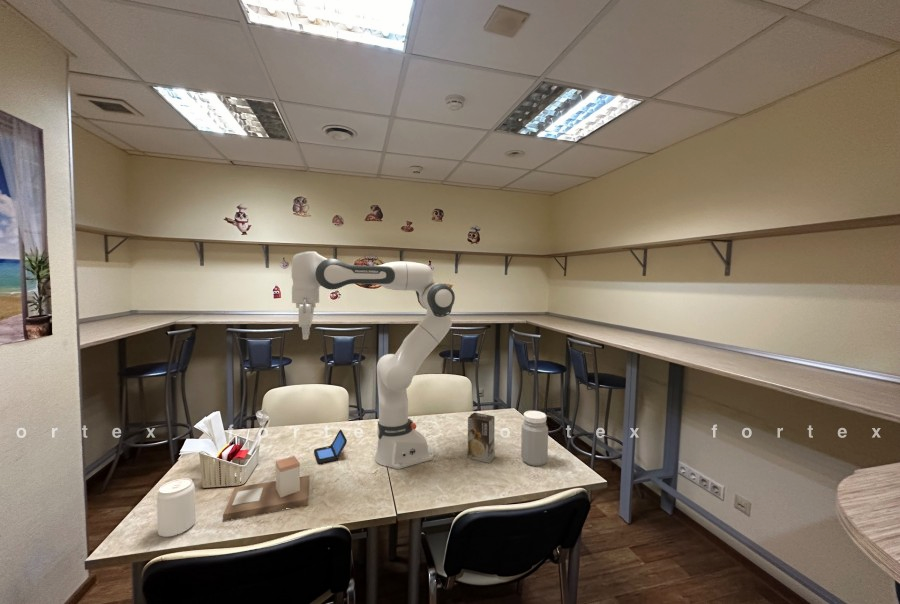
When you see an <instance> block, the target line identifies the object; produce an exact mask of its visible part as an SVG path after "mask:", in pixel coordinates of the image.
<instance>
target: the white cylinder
mask: <svg viewBox="0 0 900 604" xmlns="http://www.w3.org/2000/svg"><path fill="white" fill-rule="evenodd" d="M195 489H196V487H195V483H194V481H193V480H192V478H188V477H185V478H178V479H173V480H171V481H168V482H166V483H163V485H161V486H160V487H159V489H158V492H157V493H156V515H157V516H156V519H157V521H156V522H157V533H158V535H159V536H160V537H174V536H177V534H178V535H180V534H182V533H185V532H186V531H188V530H189V529H190V528H192V527H193V525H195V523H196V494H195V491H196V490H195Z"/></svg>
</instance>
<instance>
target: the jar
mask: <svg viewBox="0 0 900 604" xmlns="http://www.w3.org/2000/svg"><path fill="white" fill-rule="evenodd" d="M520 434H521V436H520V437H521V440H520V441H521V442H520V443H521V446H520V447H521V448H520V449H521V451H520V457H521V459H522V460H523V462H524V463H525V464H527V465H529V466H533V467H541V466H543V465H545V464H546V463H547V461H548V457H549V456H548V453H549V452H548V449H549V447H548V446H549V427H548V425H547V414H546V413H545V412H542V411H540V410H527V411H525V412H523V423H522V424H521V433H520Z"/></svg>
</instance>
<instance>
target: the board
mask: <svg viewBox="0 0 900 604" xmlns="http://www.w3.org/2000/svg"><path fill="white" fill-rule="evenodd" d="M309 491H310V474H309V475H302V476H300V491H298V492H295V493H292V494H289V495H286V496H284V497H280V495H279V494H278V492H277V490H276V480H273V481H266V482H260V483H253V484H249V485H248V484H247V485H241V486H236V487H234V488H233V490H232V493H231V495H230V498H229V499H228V502H227V505H226V507H225V509H224V511H223V514H222V522H228V521H231V519H234V520H238V519H237V518H239V519H243V517H244V518H249V517H254V516H253V515H255V516H259V514H260V515H265V514H269V512H270V513H274V512H273V511H276V512H279V511H278V510H281V511H283V510H282V509H286V508H291V509H295V508H294V507H297V508H301V507H300V506H302V507H307V506H308V505H309V494H310V493H309ZM306 505H307V506H306ZM286 510H287V509H286ZM264 513H265V514H264ZM248 516H249V517H248ZM227 520H228V521H227Z"/></svg>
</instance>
